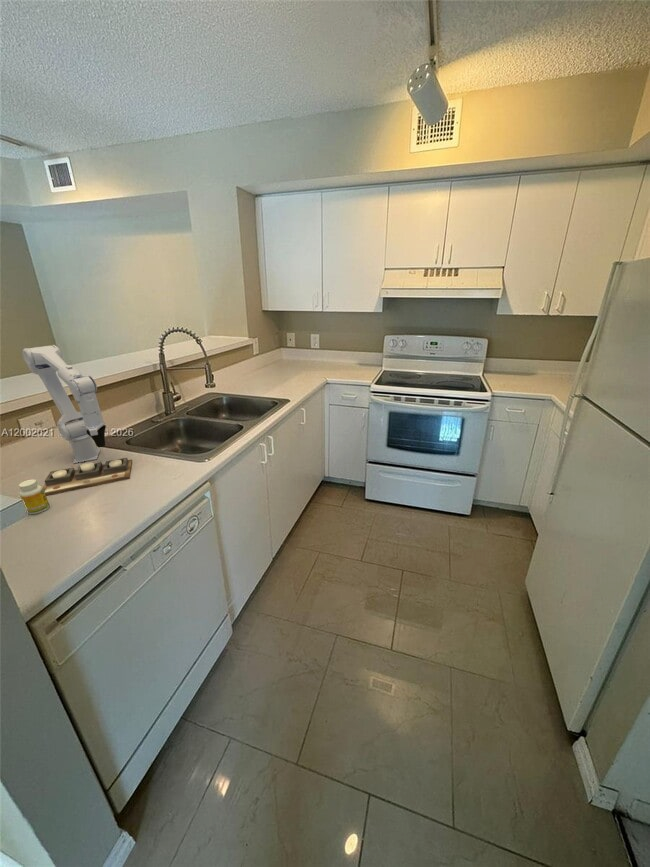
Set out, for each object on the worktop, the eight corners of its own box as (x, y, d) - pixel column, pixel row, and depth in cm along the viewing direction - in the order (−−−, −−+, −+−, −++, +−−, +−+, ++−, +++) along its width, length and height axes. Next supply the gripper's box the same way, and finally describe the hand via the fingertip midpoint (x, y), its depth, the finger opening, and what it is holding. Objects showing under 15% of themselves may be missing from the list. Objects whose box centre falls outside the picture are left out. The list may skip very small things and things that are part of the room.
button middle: (83, 469, 120) (81, 463, 119) (96, 466, 121) (94, 461, 120) (81, 474, 117) (79, 468, 116) (94, 471, 118) (92, 466, 117)
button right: (111, 466, 123) (109, 461, 123) (123, 464, 125) (121, 458, 124) (109, 471, 120) (108, 466, 119) (122, 469, 122) (120, 463, 121)
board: (51, 476, 120) (48, 469, 118) (132, 461, 129) (130, 454, 128) (39, 497, 108) (35, 489, 107) (129, 478, 118) (127, 471, 116)
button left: (56, 477, 117) (53, 471, 116) (69, 474, 119) (67, 468, 118) (52, 482, 114) (50, 476, 113) (66, 480, 115) (64, 474, 114)
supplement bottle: (26, 509, 102) (14, 483, 98) (48, 502, 105) (37, 476, 102) (29, 517, 99) (17, 489, 95) (51, 508, 102) (40, 482, 98)
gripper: (79, 407, 120) (90, 441, 126) (74, 420, 108) (86, 456, 114) (102, 404, 123) (112, 437, 129) (99, 416, 112) (110, 452, 117)
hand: (101, 446), depth 122 cm, fingers closed
